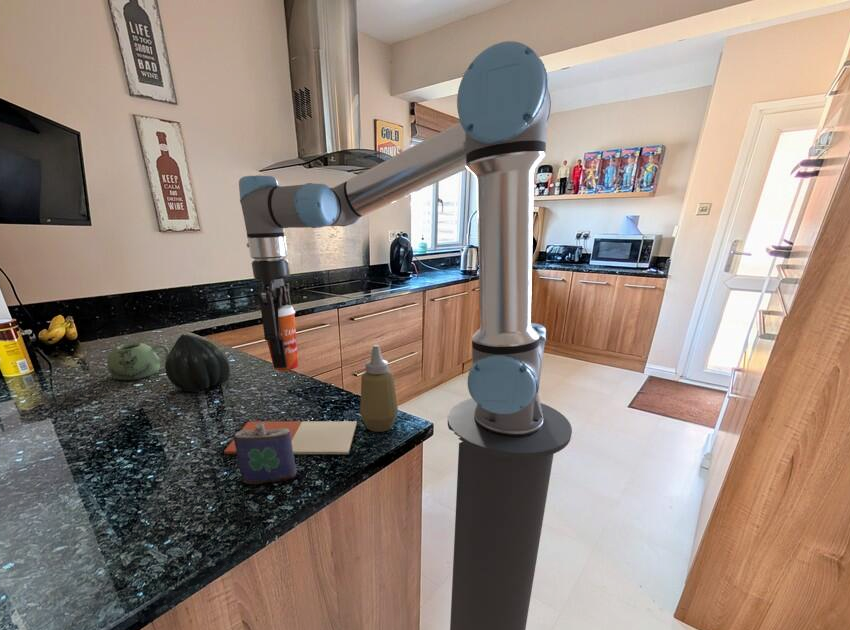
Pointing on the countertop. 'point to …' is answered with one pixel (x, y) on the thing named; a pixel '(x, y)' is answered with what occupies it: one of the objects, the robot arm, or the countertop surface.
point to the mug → (134, 361)
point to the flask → (265, 454)
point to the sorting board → (311, 435)
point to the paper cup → (287, 337)
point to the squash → (196, 364)
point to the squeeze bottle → (378, 394)
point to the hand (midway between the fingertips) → (285, 361)
